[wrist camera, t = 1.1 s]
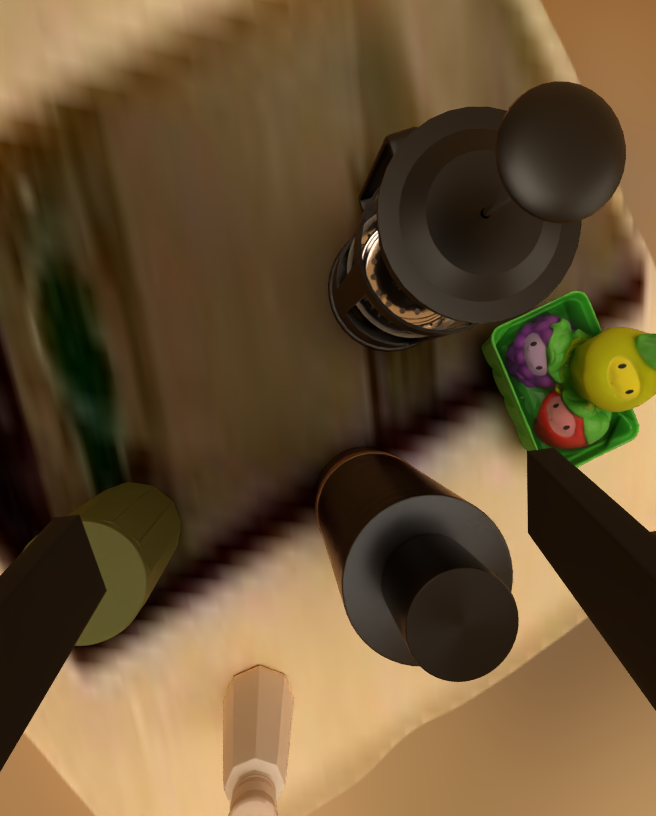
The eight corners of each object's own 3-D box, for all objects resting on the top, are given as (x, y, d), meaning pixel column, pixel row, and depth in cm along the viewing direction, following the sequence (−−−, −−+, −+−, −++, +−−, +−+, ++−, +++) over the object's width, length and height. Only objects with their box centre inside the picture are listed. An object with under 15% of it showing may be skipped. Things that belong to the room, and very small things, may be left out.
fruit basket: (458, 337, 38) (535, 320, 27) (557, 291, 39) (672, 255, 28) (514, 468, 39) (609, 503, 28) (609, 421, 40) (740, 438, 29)
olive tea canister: (70, 501, 36) (-9, 548, 26) (161, 468, 36) (119, 502, 26) (104, 587, 36) (41, 665, 26) (194, 554, 37) (165, 617, 27)
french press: (467, 336, 38) (752, 270, 15) (354, 376, 37) (480, 370, 15) (419, 188, 37) (649, -116, 14) (302, 227, 36) (350, -31, 14)
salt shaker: (258, 745, 38) (251, 891, 27) (208, 700, 38) (181, 830, 27) (308, 695, 39) (321, 820, 28) (259, 649, 38) (254, 759, 27)
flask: (297, 467, 37) (324, 565, 18) (396, 431, 38) (529, 486, 18) (332, 564, 38) (396, 764, 18) (429, 527, 39) (591, 680, 19)
